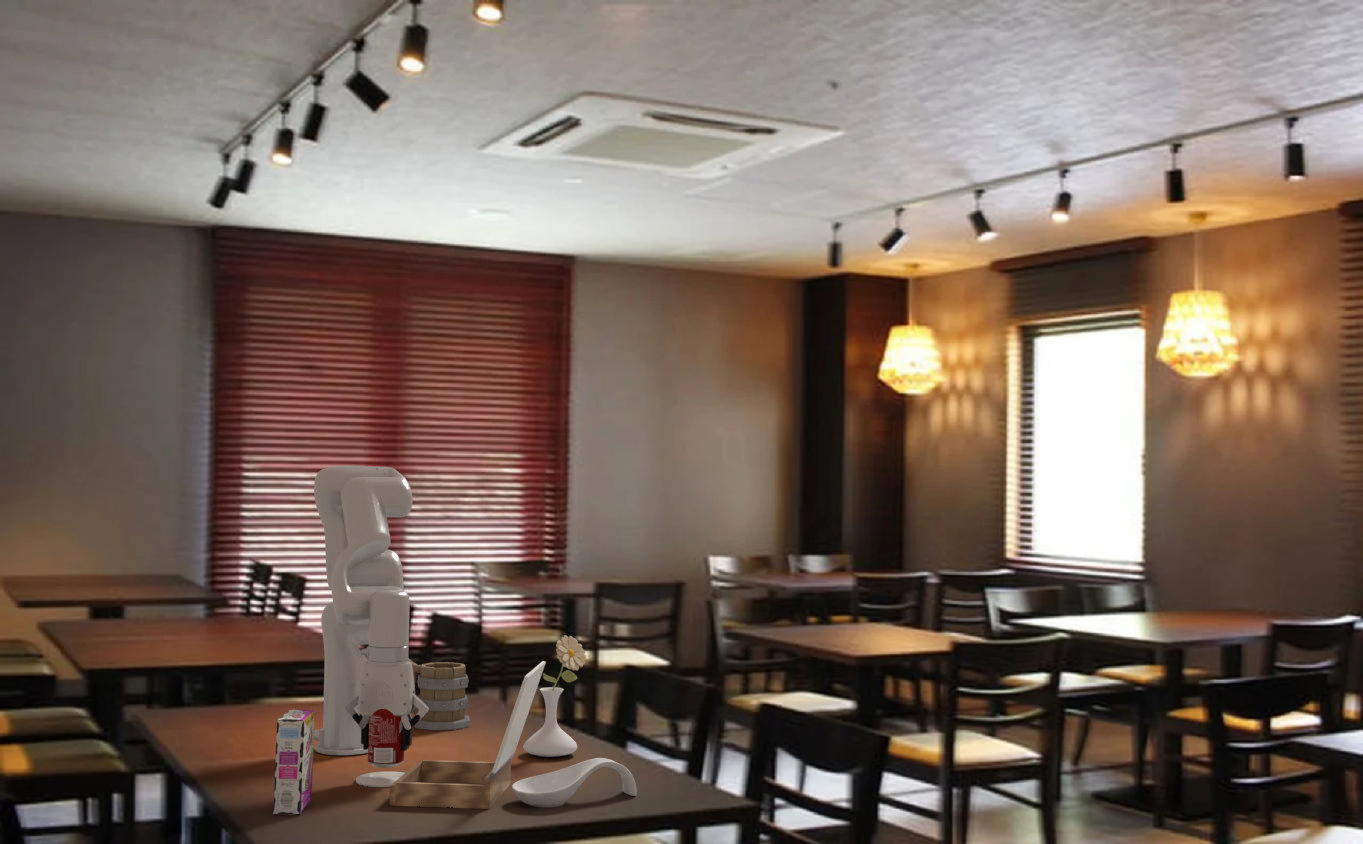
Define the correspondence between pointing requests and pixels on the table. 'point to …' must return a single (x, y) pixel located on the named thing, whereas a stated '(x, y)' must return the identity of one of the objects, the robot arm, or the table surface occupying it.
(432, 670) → the tankard
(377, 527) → the robot arm
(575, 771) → the spoon rest
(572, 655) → the flower in vase
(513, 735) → the lid
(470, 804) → the open wooden box
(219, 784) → the table surface
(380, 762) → the soda can
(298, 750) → the candy bar box
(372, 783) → the disc
